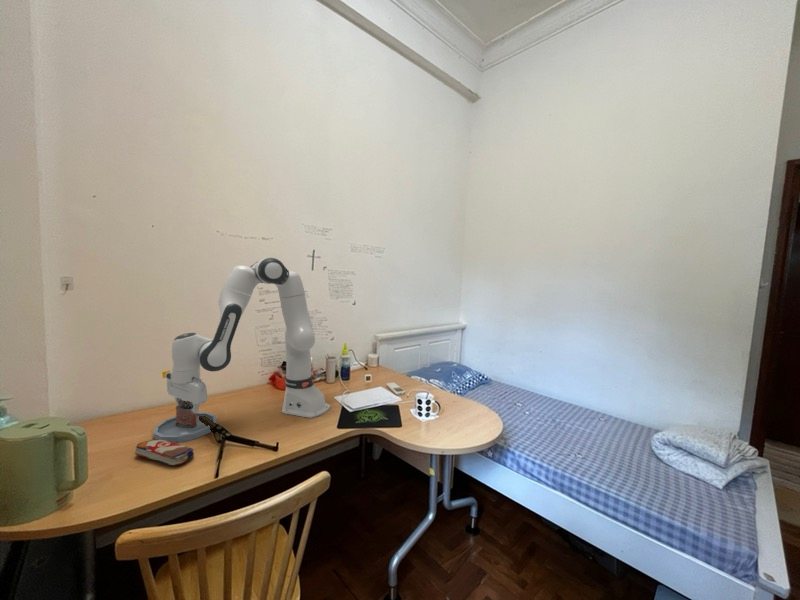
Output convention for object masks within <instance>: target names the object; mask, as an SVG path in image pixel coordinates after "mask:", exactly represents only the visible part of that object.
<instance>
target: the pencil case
mask: <svg viewBox="0 0 800 600" xmlns="http://www.w3.org/2000/svg"><path fill="white" fill-rule="evenodd" d="M134 454H135V456H140V457H144V458H147V459H151V460H154V461H157V462H160V463H164V464H165V465H169V466H179V465H182V464H185V463H186V462H187V461H189V460H190V459H191V458H192V457H193V456H195V453H194V449H193V447H188V446H186V445H182V444H179V443H172V442H168V441H164V440H160V439H150V440H146V441H143V442H140V443H139V442H138V444H136V445H135V452H134Z"/></svg>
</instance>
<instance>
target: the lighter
mask: <svg viewBox="0 0 800 600" xmlns="http://www.w3.org/2000/svg"><path fill="white" fill-rule="evenodd" d="M178 404H181V405H178V406H177V405H176V406H175V410H176V411H175V416H176V426H178V427H183V428H194V427H196V426H197V423H196V414H197V413H192V412H191V411H192V410H191V408H193V406H194V405H193V403H192V402H189V401H186V400H183V399H182V400H179V401H178Z"/></svg>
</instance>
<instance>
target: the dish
mask: <svg viewBox="0 0 800 600" xmlns="http://www.w3.org/2000/svg"><path fill="white" fill-rule="evenodd" d="M199 416H206V417H208V418H209V419H210V420H212V421H213V422H214V423H216V424H217V425H218V422H217V421H218V420H217V415H216V414H213V413H210V412H204V411H200V412H199V411H198V412H197V414H196V423H197V426H196V427H194V428H183V427H178V426H176V415H175V416H172V417H169V418H167V419H164V420H163V421H161V422H160V423H158V424H157V425H155V426H154V428H153V429H154V430H153V432H152V433H153V434H152V437H153V439H160V440H164V441H168V442H172V443H176V444H179V443H183V442H188V441H193V440H196V439H198V438H200V437H203V436H205V435H208V434H210V433H211V432H212V431H211V430H210V426H209V425H208V426H206V425H205V424H204V423H202V422H201V421H200V420H199ZM153 439H152V440H153Z"/></svg>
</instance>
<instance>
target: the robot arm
mask: <svg viewBox="0 0 800 600" xmlns="http://www.w3.org/2000/svg"><path fill="white" fill-rule="evenodd" d="M259 284H267V285H271V284H272V285H275V286H276V288H277V290H278V297H279V302H280V306H281V307H280V308H281V312H282V318H283V321H284V323H285V332H284V336H285V337H284V340H285V341H284V342H285V343H284V345H285V358H286V359H285V361H286V368H285V369H286V370H285V371H286V372H285V375H286V376H285V379H284V385H285V390H284V391H285V392H284V396H283V397H284V398H283V403H282V406H281V408H282V409H281V413H282V414H286V415H291V416H297V417H301V418H302V417H303V418H309V419H312V418H316V417H318V416H321V415H323V414H325V413H326V412H328V411H329V410H330V409H331V405H330V404H328V403H327V402H326V400H325V399H326V398H325V397H326V396H325V394H324V393H322V391H321V390H320V389H319V388H318V387H317V386H316V385H315V382H316V379H315V378H314V379H313V376H312V357H311V351H310V349H312V348H313V347H314V345H315V343H316V338H315V333H314V328H313V324H312V321H311V317H310V313H309V311H308V306H307V305H308V303H307V298H306V293H305V287H304V284H303V281H302V279H301V276H300V274H299V273H298V272H297V271H293V270H289V269H287V267H286V266H285V265H284V264H283V262H282V261H281V260H279V258H276V257H275V258H274V257H265V258H261V259H260V260H258V261H256V262H255V263H254V264H252V265H251V266H247V265H243V264H240V265H239V264H238V265H236V266H234V267H233V269H232V270H231V271H230V272H229V274H228V276H227V278H226V279H225V281H224V283H223V286H222V288H221V291H220V294H219V299H218V307H219V310H220V311H219V312H220V315H219V316H220V318H219V323H218V325H217V327H216V331H215V333H214V336H213V338H209V337H206V336H202V335H200V334H198V333H196V332H188V333H183V334H180V335H178V336H176V337H175V338H174V339H173V340H172V343H171V345H172V346H171V360H172V363H173V364H172V370H171V371H169V372H166V373H165V379H166V390H167V394H168V395H169V396H172V397H174V400H175V403H176V406H178V405H181V404H178V401H179V400H183V401H189V402H192V403H193V405H194V406H193V408H191V410H192V411H191V412H192V413H197V412H199V411H200V410H199V408H200V406H201V405H202V404H204V403H206V402H207V401H208V390H207V386H206V383H205V382H204V381H203V380H202V379H201V367H202V368H203V369H204V370H206V371H209V372H218V371H221V370H223V369H225V368H227V367H228V365H229V364H230V362H231V359H232V352H231V350H232V349H231V346H232V342H233V339H234V336H235V333H236V331H237V328H238V326H239V322H240V320H241V318H242V316H243V314H244V312H245V310H246V308H247V306H248V304H249V302H250V300H251V298H252V295H253V293H254V289H255V288H256V287H257V286H258V285H259Z"/></svg>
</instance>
